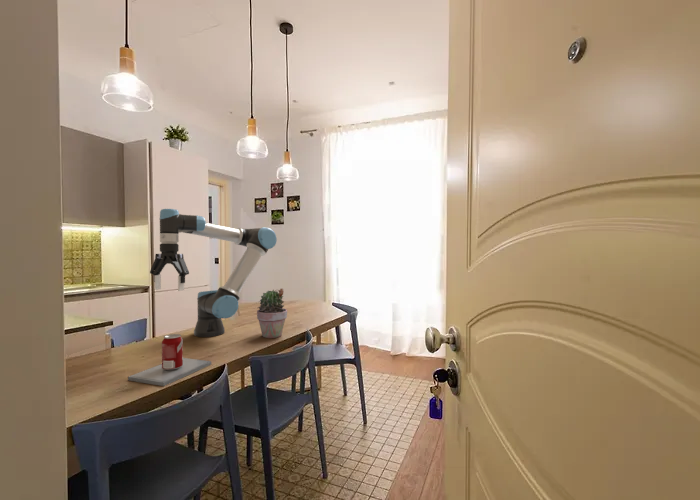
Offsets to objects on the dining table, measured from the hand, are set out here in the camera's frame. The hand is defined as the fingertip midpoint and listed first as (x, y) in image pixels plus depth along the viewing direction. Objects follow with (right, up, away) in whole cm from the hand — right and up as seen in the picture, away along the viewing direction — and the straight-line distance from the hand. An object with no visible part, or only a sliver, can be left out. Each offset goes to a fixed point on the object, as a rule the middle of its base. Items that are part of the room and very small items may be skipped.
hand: (169, 290), depth 151 cm
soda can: (+17, -26, -29) cm, 42 cm away
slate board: (+17, -27, -29) cm, 43 cm away
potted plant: (+40, -27, +23) cm, 54 cm away
